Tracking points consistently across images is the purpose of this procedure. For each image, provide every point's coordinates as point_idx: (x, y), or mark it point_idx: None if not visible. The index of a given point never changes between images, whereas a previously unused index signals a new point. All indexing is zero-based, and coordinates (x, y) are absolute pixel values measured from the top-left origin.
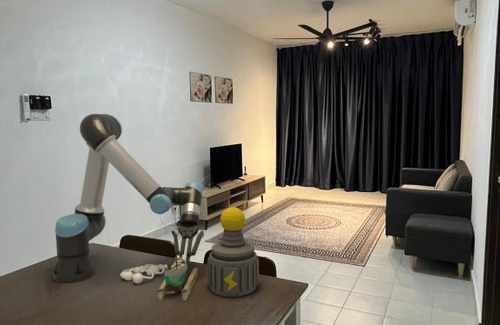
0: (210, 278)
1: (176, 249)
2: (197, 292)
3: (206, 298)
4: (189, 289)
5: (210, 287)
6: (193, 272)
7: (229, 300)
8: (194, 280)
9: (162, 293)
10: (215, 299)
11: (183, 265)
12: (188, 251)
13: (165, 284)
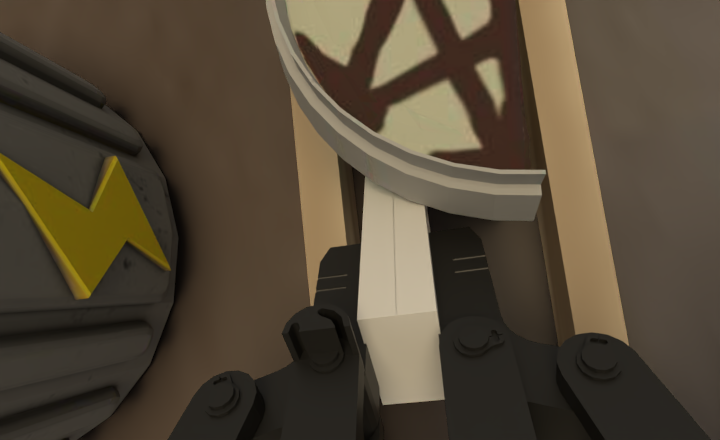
0: (74, 99)
1: (638, 409)
2: (252, 112)
3: (164, 34)
4: None
5: (147, 160)
6: None
7: None
8: None
9: None
10: (102, 35)
11: (315, 4)
12: (319, 393)
13: (525, 10)
